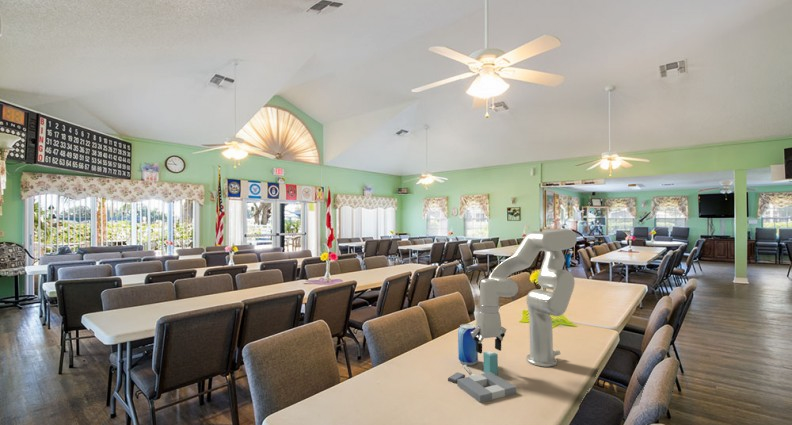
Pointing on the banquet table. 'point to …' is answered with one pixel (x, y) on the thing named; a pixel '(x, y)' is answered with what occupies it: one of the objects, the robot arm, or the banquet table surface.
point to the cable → (468, 370)
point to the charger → (490, 362)
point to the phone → (456, 377)
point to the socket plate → (481, 394)
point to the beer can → (467, 345)
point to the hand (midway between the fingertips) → (488, 350)
